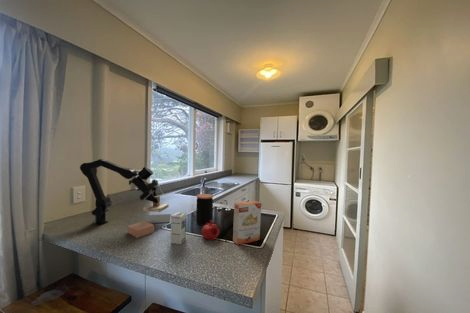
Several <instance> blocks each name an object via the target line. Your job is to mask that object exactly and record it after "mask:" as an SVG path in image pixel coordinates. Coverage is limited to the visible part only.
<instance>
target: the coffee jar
mask: <svg viewBox="0 0 470 313" xmlns="http://www.w3.org/2000/svg"><path fill="white" fill-rule="evenodd" d="M213 197H214V195H213V194H212V193H211V194H210V193H199V194H197V195H196V212H195V213H196V214H195V215H196V216H195V217H196V219H195V222H196V223H197V225H201V226H205V224H206V225H207V224H208V223H209V224H210V221H212V222H213V212H214V210H213V207H214V206H213V205H214V199H213Z"/></svg>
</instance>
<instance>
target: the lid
mask: <svg viewBox="0 0 470 313" xmlns="http://www.w3.org/2000/svg"><path fill="white" fill-rule="evenodd" d="M154 197H155V198H156V199H157V201H158V203H155V202H151V203H150V204H147V205H146V206H144V207H142V211H143V212H154V213H155V212H156V213H161V212H163V211H164V210H166V209H168V208H169V203H161V196H160V195H157V196H154Z"/></svg>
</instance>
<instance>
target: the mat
mask: <svg viewBox="0 0 470 313" xmlns="http://www.w3.org/2000/svg"><path fill="white" fill-rule="evenodd" d="M171 216H172V214H171V213H166V214H165V213H164V214H162V213H161V214H146V217H145V218H144V220H143V221H146V222H148V223H151V224H153V225H156V224H157V225H158V224H170V223H171Z"/></svg>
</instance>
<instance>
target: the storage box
mask: <svg viewBox="0 0 470 313" xmlns="http://www.w3.org/2000/svg"><path fill="white" fill-rule="evenodd" d="M154 232H155V224H151V223H148V222H146V221H144V220H143V221H140V222H136V223H133V224H130V225H128V226H127V234H130V235H131V236H133V237H134V238H136V239H138V238H141V237H143V236H146V235H150V234H152V233H154Z"/></svg>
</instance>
